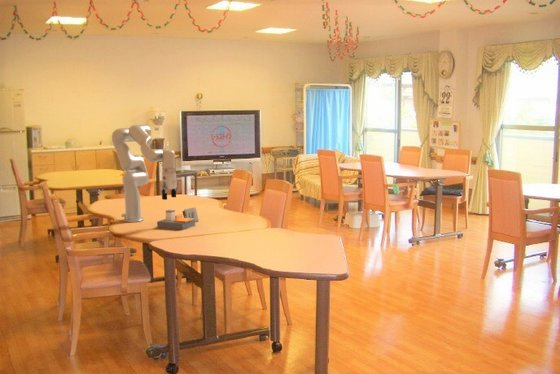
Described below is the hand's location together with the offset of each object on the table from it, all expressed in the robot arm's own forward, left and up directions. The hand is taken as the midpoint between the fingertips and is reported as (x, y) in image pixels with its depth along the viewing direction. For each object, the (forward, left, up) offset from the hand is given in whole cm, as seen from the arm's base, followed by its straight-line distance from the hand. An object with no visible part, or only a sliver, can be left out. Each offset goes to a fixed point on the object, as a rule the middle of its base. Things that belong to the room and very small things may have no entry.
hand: (169, 198), depth 371 cm
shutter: (+10, 0, -13) cm, 16 cm away
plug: (+1, 0, -17) cm, 17 cm away
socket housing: (+5, 0, -17) cm, 18 cm away
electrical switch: (+5, +16, -18) cm, 24 cm away
